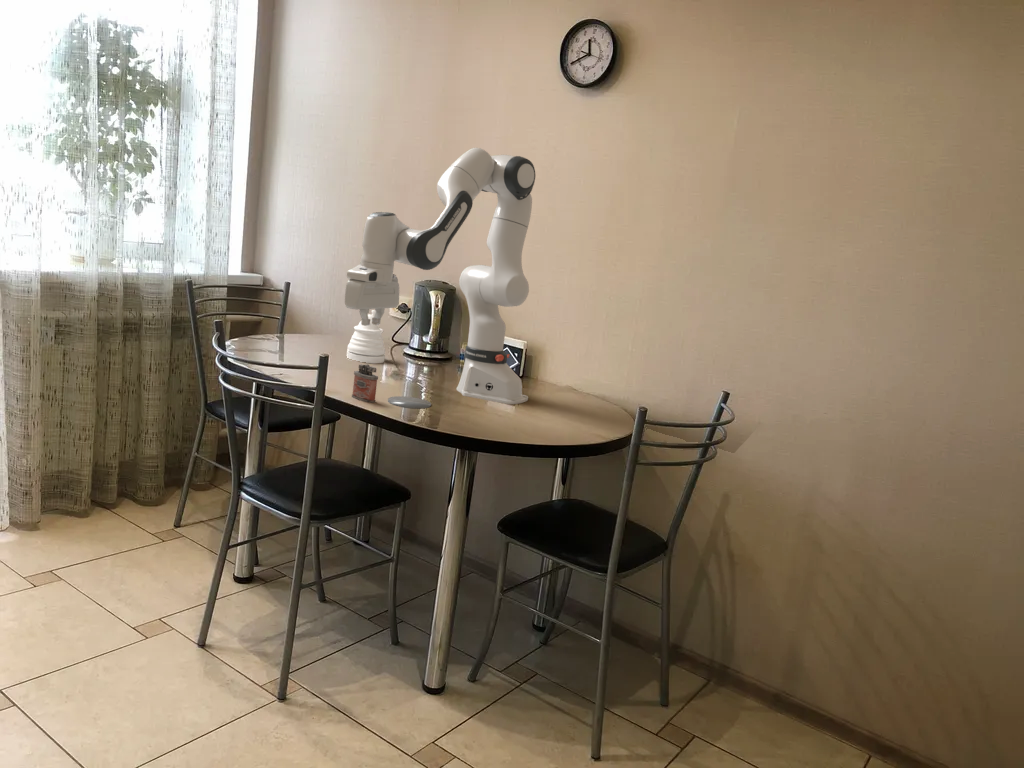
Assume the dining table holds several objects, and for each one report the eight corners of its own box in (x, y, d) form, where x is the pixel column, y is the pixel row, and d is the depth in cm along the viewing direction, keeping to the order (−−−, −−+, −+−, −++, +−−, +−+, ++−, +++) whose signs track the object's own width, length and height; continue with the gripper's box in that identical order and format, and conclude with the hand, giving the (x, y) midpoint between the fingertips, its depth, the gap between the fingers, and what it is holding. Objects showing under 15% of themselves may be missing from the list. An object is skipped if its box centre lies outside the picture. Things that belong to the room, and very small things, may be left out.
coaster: (438, 406, 224) (439, 403, 224) (415, 412, 214) (416, 409, 213) (403, 397, 229) (403, 394, 229) (379, 402, 218) (379, 399, 218)
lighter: (348, 397, 219) (352, 362, 217) (357, 396, 222) (361, 361, 220) (369, 404, 215) (373, 368, 213) (378, 403, 218) (382, 367, 216)
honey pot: (371, 358, 283) (377, 308, 280) (390, 366, 274) (396, 314, 270) (339, 358, 275) (344, 306, 271) (357, 366, 265) (363, 312, 262)
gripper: (388, 272, 222) (383, 321, 225) (342, 271, 204) (337, 324, 207) (407, 275, 220) (401, 325, 222) (363, 274, 201) (357, 328, 204)
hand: (370, 324), depth 214 cm, fingers open, 3 cm apart
